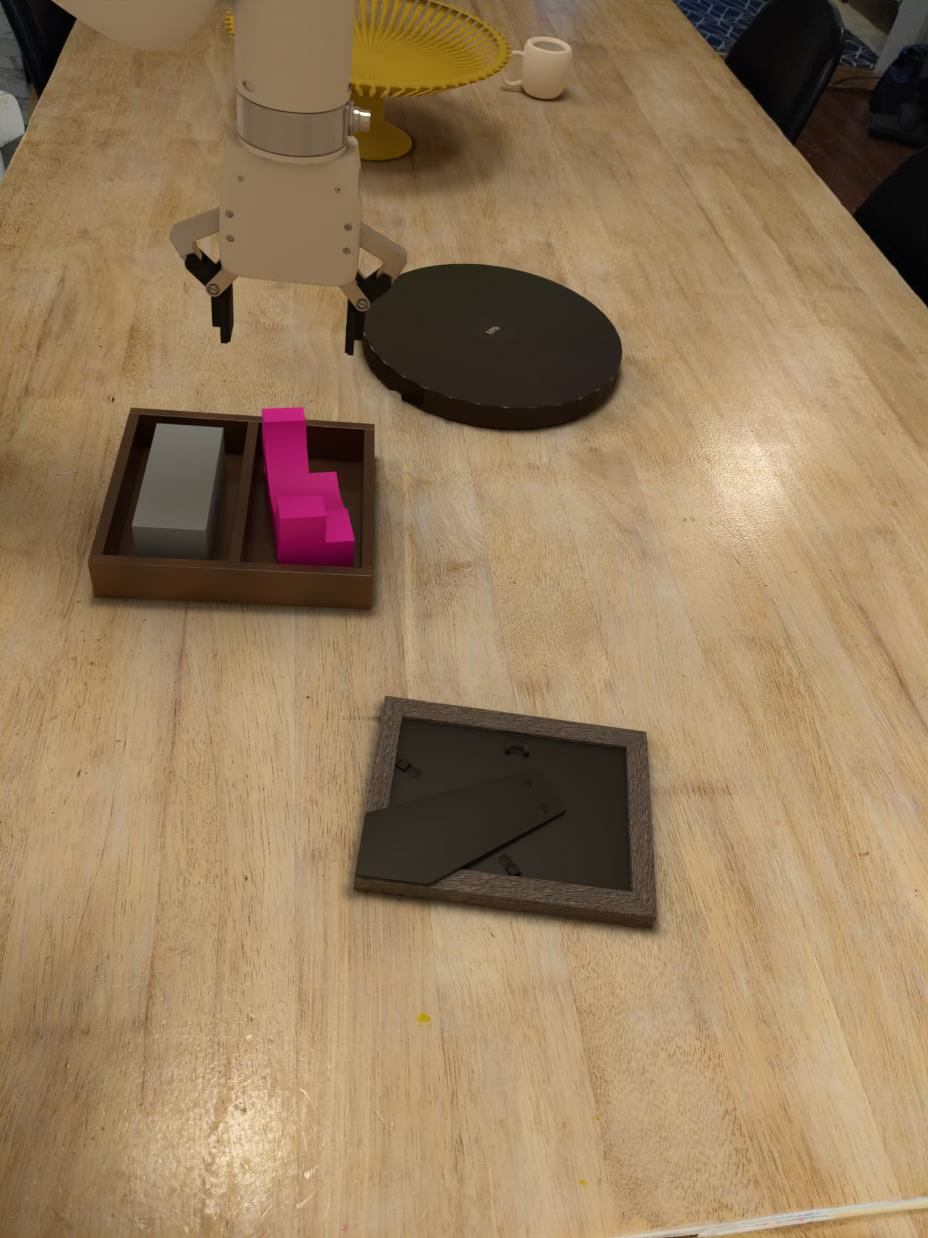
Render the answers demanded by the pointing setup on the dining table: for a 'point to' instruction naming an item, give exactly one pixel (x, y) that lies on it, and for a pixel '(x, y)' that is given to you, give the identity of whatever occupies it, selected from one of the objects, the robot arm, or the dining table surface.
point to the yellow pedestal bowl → (411, 66)
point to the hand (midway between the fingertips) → (288, 339)
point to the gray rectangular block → (180, 493)
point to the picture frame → (510, 813)
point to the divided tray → (238, 521)
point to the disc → (491, 346)
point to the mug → (543, 67)
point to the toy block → (302, 497)
